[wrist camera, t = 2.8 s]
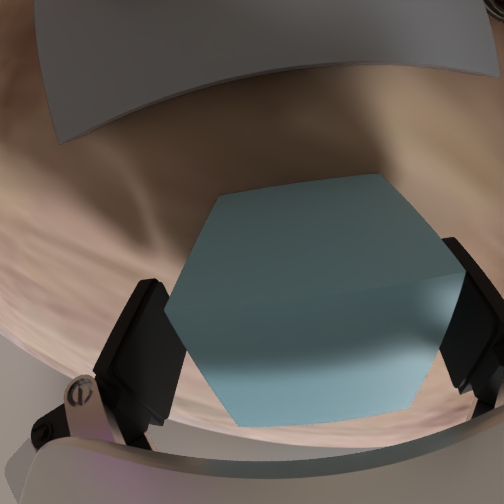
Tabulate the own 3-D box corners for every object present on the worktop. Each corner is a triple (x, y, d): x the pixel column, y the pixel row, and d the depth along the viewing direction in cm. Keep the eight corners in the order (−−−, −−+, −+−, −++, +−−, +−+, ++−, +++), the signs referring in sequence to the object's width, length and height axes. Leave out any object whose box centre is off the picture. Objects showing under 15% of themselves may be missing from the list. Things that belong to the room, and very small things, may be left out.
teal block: (375, 295, 12) (408, 407, 7) (253, 311, 13) (238, 426, 8) (378, 172, 9) (466, 271, 4) (219, 195, 10) (163, 310, 5)
